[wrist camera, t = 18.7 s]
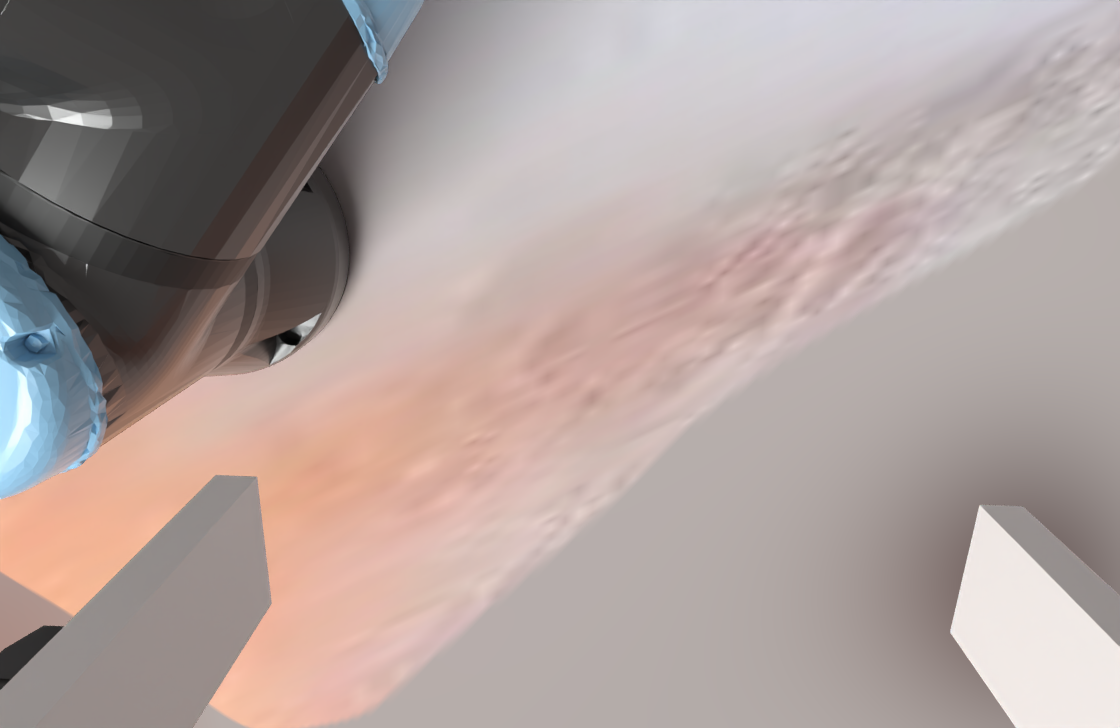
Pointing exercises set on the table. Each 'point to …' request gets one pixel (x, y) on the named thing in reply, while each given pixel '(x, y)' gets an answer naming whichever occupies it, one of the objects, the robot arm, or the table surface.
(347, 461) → the table surface
